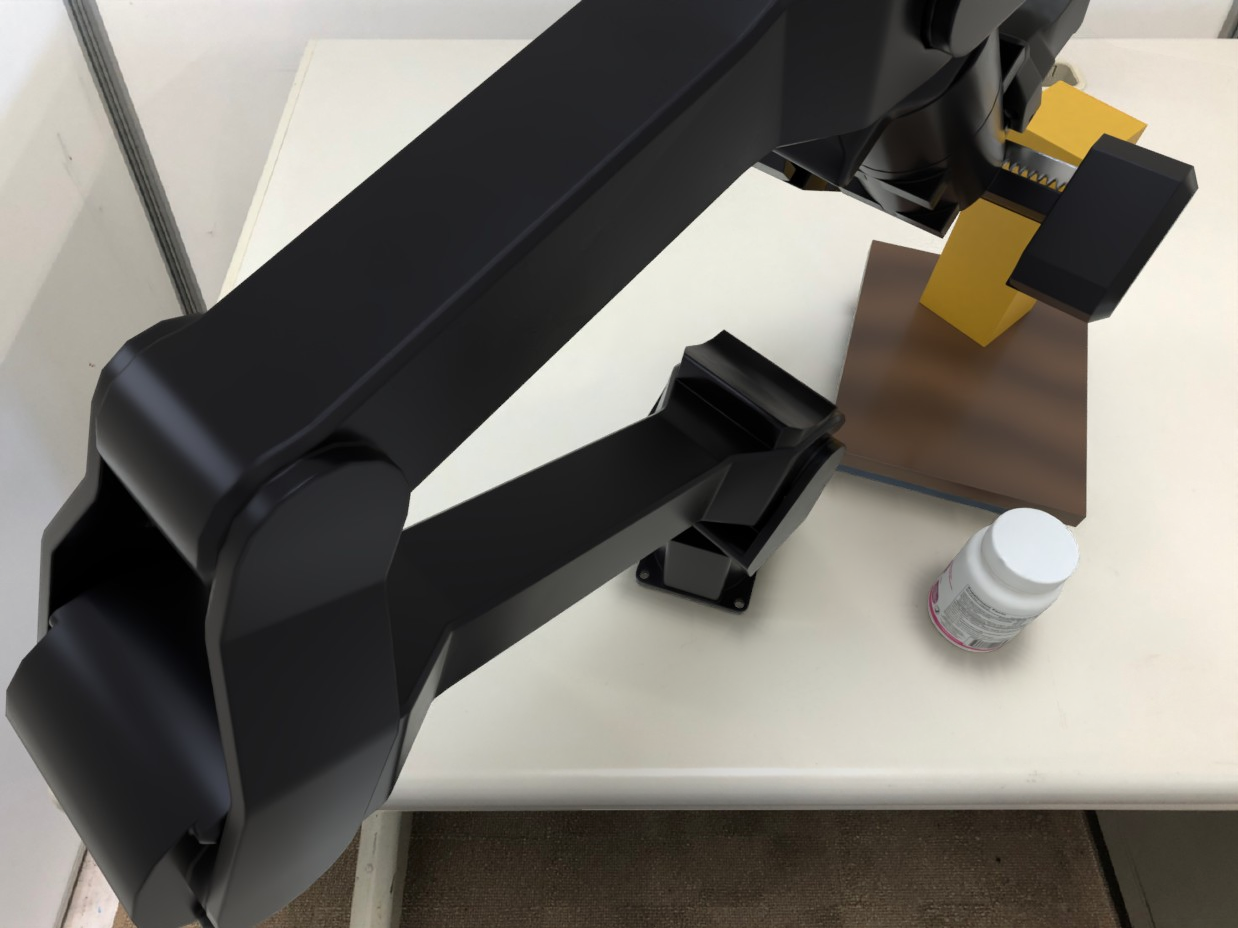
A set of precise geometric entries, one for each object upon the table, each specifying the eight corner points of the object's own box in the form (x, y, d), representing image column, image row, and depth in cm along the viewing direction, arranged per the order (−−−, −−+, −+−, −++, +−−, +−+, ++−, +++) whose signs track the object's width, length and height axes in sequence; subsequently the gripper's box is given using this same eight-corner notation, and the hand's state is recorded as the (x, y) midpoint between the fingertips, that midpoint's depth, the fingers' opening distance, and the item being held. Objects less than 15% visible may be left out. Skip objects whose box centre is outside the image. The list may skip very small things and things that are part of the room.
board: (1045, 556, 46) (1086, 517, 42) (807, 490, 48) (825, 447, 44) (1054, 336, 55) (1088, 286, 51) (854, 289, 57) (872, 239, 54)
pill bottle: (948, 558, 46) (1010, 482, 39) (1026, 607, 44) (1106, 537, 37) (909, 618, 44) (967, 549, 37) (989, 672, 42) (1066, 611, 35)
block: (984, 347, 48) (1093, 165, 37) (918, 302, 50) (1004, 116, 39) (1031, 309, 50) (1148, 124, 39) (966, 266, 52) (1060, 79, 41)
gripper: (1374, -74, 22) (1238, 136, 36) (805, -207, 29) (876, 10, 43) (1123, 288, 25) (1088, 353, 38) (659, 83, 32) (770, 200, 46)
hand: (948, 216), depth 41 cm, fingers open, 9 cm apart
